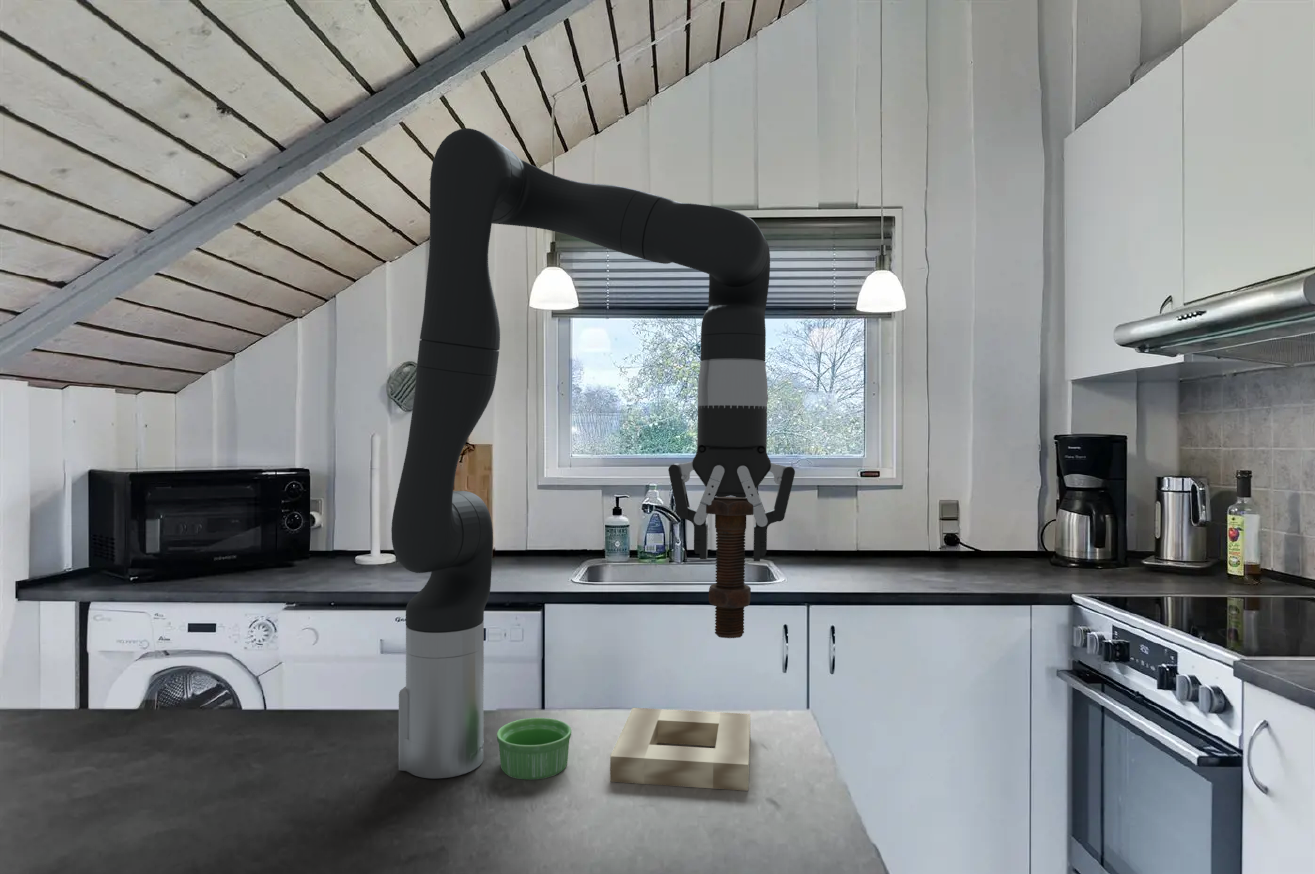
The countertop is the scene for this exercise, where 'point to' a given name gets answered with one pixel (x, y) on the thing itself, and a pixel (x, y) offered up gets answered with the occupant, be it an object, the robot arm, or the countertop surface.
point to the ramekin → (534, 747)
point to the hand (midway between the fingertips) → (730, 558)
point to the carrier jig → (683, 749)
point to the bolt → (730, 565)
